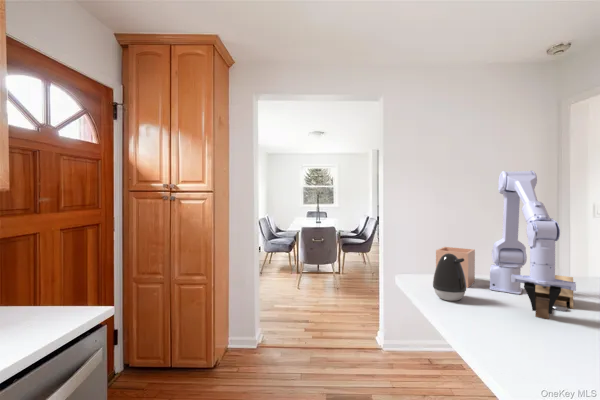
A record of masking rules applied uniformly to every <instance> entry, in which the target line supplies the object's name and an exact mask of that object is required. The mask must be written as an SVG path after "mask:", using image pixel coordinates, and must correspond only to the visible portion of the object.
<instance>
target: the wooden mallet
mask: <svg viewBox="0 0 600 400" xmlns="http://www.w3.org/2000/svg"><path fill="white" fill-rule="evenodd" d="M535 301H536V310H535V313H534V314H535V317H536V318H540V319H545V320H549V319H550V314H549V311H548V310H549V299H548V298H541V297H536V298H535ZM554 304H559V305H563V306H566V307H567V302H566V301H560V300H556V301H555V303H554Z"/></svg>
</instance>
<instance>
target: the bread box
mask: <svg viewBox="0 0 600 400" xmlns="http://www.w3.org/2000/svg"><path fill="white" fill-rule="evenodd" d="M555 279H558V280H564V281H570V282H574V277H573V276H566V275H559V274H558V275H557V274H555ZM549 285H550V284H549ZM549 289H550V287H548V286H540V285H536V286H535V299H536V297H541V298H548V299H549ZM556 300H560V301H566V303H569V309H571V310H574V291H573V290H570V289H562V288H561V293H560V294H559V296H558V297H557V299H556Z"/></svg>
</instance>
